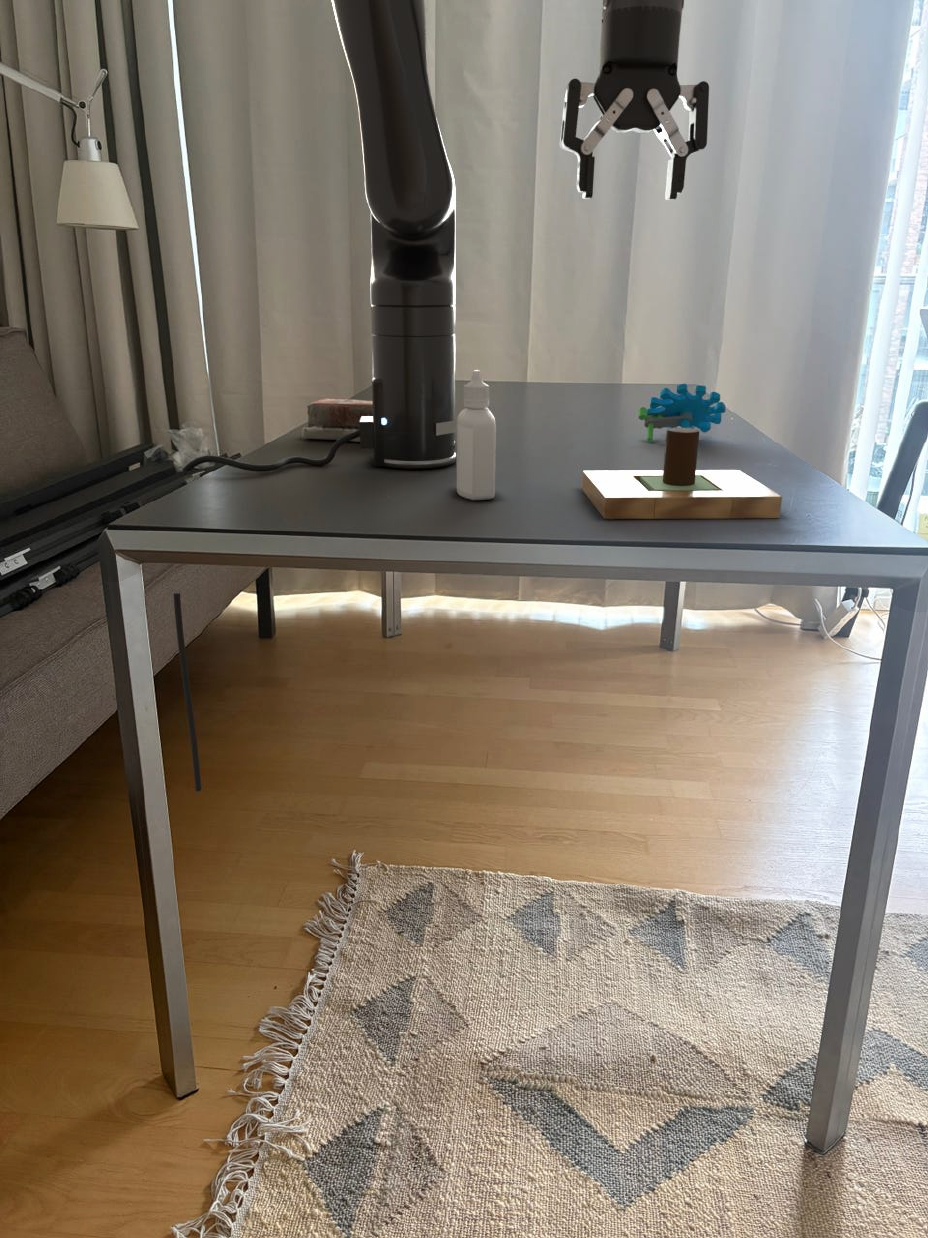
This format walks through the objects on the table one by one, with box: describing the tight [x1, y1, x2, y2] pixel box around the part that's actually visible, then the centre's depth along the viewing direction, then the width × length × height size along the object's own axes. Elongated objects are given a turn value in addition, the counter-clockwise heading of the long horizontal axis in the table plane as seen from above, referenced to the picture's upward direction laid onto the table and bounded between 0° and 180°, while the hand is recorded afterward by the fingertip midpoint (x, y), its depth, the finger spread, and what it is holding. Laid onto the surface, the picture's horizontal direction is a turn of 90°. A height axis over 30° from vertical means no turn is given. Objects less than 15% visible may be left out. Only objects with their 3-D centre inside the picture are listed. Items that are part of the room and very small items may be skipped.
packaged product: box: [301, 398, 373, 443], centre depth 124 cm, size 18×5×10 cm
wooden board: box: [581, 469, 783, 520], centre depth 89 cm, size 16×12×2 cm
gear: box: [638, 383, 726, 442], centre depth 122 cm, size 11×6×10 cm
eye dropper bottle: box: [456, 369, 497, 501], centre depth 90 cm, size 4×6×12 cm
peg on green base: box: [640, 427, 719, 491], centre depth 88 cm, size 6×6×7 cm
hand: (628, 198), depth 94 cm, fingers open, 8 cm apart
